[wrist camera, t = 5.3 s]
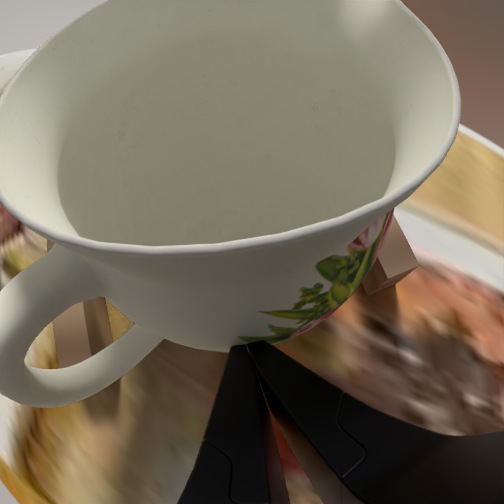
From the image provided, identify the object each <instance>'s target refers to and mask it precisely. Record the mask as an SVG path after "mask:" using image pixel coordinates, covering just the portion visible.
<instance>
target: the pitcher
mask: <svg viewBox="0 0 504 504" xmlns="http://www.w3.org/2000/svg"><path fill="white" fill-rule="evenodd" d="M460 118H461V96H460V90H459V86H458V81H457V77H456V75H455V72H454V69H453V67H452V64H451V62H450V60H449V58H448V56H447V55H446V53H445V51H444V50H443V48H442V46H441V45H440V43H439V42H438V41H437V39H436V38H435V37H434V35H433V34H432V33H431V32H430V30H429V29H428V28H427V27H426V26H425V25H424V24H423V23H422V22H421V21H420V20H419V19H418V18H417V17H416V16H415V15H414V14H413V13H412V12H411V11H410V10H409V9H408V8H407V7H406V6H405V5H404V4H403V3H402V2H401V1H400V0H107V1H105V2H103V3H101V4H100V5H98V6H96V7H94V8H92V9H91V10H89V11H87V12H86V13H84V14H82V15H81V16H79V17H77V18H76V19H75V20H73V21H71V22H70V23H69V24H67V25H66V26H64V27H63V28H62V29H60V30H59V31H58V32H56V33H55V34H54V35H53V36H51V37H50V38H49V39H48V40H47V41H46V42H44V43H43V44H42V45H41V46H40V47H39V48H38V49H37V50H36V51H35V52H34V53H33V54H32V55H31V56H30V57H29V58H28V59H27V60H26V61H25V62H24V64H23V65H22V66H21V67H20V68H19V70H18V71H17V72H16V73H15V75H14V76H13V78H12V79H11V80H10V82H9V83H8V85H7V86H6V88H5V90H4V91H3V93H2V95H1V96H0V202H1V203H2V205H3V206H4V207H5V209H7V210H8V211H9V212H10V213H11V214H12V215H13V216H15V217H16V218H17V219H18V220H19V221H21V222H22V223H23V224H24V225H25V226H27V227H28V228H29V229H31V230H32V231H34V232H36V233H37V234H39V235H40V236H42V237H44V238H46V239H48V240H50V241H52V242H54V243H55V244H54V245H53V247H52V248H51V249H50V250H49V251H48V252H47V254H46V255H45V256H43V257H42V258H40V259H39V260H38V261H36V262H35V263H33V264H32V265H30V266H29V267H27V268H26V269H24V270H23V271H22V272H20V273H19V274H18V275H17V276H15V277H14V278H13V279H12V280H11V281H10V282H9V283H8V284H7V285H6V286H5V287H4V288H3V289H2V290H1V291H0V393H1V394H2V395H4V396H6V397H8V398H9V399H11V400H13V401H15V402H18V403H20V404H23V405H27V406H32V407H58V406H65V405H69V404H72V403H75V402H78V401H81V400H84V399H86V398H88V397H90V396H92V395H94V394H96V393H97V392H99V391H101V390H103V389H104V388H106V387H107V386H109V385H110V384H112V383H113V382H115V381H116V380H118V379H119V378H120V377H122V376H123V375H124V374H126V373H127V372H128V371H130V370H131V369H132V368H133V367H134V366H136V365H137V364H138V363H139V362H140V361H141V360H142V359H143V358H145V357H146V356H147V355H148V354H149V353H150V352H151V351H152V350H153V349H154V348H155V347H156V346H157V345H158V344H159V343H160V342H161V341H162V340H163V339H164V338H165V339H167V340H169V341H171V342H174V343H177V344H180V345H184V346H188V347H191V348H195V349H201V350H209V351H217V352H229V350H230V348H231V347H232V346H235V345H243V344H246V346H247V344H248V343H252V342H257V341H262V340H265V341H267V342H268V343H270V344H271V345H276V344H279V343H282V342H285V341H288V340H290V339H292V338H294V337H296V336H298V335H300V334H302V333H304V332H306V331H308V330H310V329H312V328H313V327H315V326H316V325H317V324H319V323H320V322H322V321H323V320H325V319H326V318H328V317H329V316H330V315H331V314H332V313H333V312H335V311H336V310H337V309H338V308H339V307H340V306H341V305H342V304H343V303H344V302H345V301H346V300H347V299H348V298H349V297H350V296H351V295H352V294H353V293H354V291H355V290H356V289H357V287H358V286H359V285H360V283H361V282H362V281H363V279H364V278H365V277H366V275H367V274H368V272H369V271H370V270H371V268H372V266H373V264H374V262H375V260H376V258H377V257H378V255H379V253H380V251H381V249H382V246H383V244H384V241H385V239H386V236H387V233H388V230H389V227H390V224H391V220H392V217H393V212H394V207H396V206H397V205H399V204H400V203H401V202H403V201H404V200H406V199H407V198H408V197H409V196H410V195H411V194H412V193H413V192H414V191H415V190H416V189H417V188H418V187H419V186H420V185H421V184H422V183H423V182H424V181H425V180H426V179H427V178H428V177H429V176H430V175H431V174H432V173H433V172H434V171H435V170H436V168H437V167H438V166H439V165H440V164H441V163H442V161H443V160H444V158H445V156H446V155H447V153H448V151H449V149H450V147H451V146H452V144H453V142H454V140H455V138H456V134H457V130H458V126H459V123H460ZM98 297H105V298H106V299H107V300H108V301H109V302H110V303H112V304H113V305H114V306H115V307H116V308H117V309H118V310H119V311H120V312H121V313H123V314H124V315H125V316H126V317H128V318H129V319H131V320H132V321H134V322H135V325H133V326H132V327H131V328H130V329H129V330H128V331H127V332H126V333H125V334H123V335H122V336H121V337H120V338H119V339H117V340H116V341H115V342H113V343H112V344H111V345H109V346H108V347H106V348H105V349H103V350H101V351H100V352H98V353H97V354H95V355H93V356H92V357H90V358H88V359H86V360H84V361H82V362H81V363H78V364H75V365H73V366H70V367H66V368H61V369H39V368H33V367H31V366H29V365H27V364H26V363H24V358H25V356H26V353H27V351H28V349H29V347H30V345H31V344H32V343H33V341H34V340H35V338H36V337H37V336H38V335H39V333H40V332H41V331H42V330H43V329H44V328H45V327H46V326H47V325H48V324H49V323H50V322H51V321H53V320H54V319H55V318H56V317H57V316H59V315H60V314H61V313H63V312H64V311H65V310H67V309H68V308H70V307H71V306H73V305H74V304H77V303H80V302H83V301H87V300H90V299H94V298H98ZM247 349H248V347H247ZM248 351H249V350H248Z"/></svg>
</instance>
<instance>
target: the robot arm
mask: <svg viewBox="0 0 504 504" xmlns="http://www.w3.org/2000/svg"><path fill="white" fill-rule="evenodd" d="M247 347H248V349H247ZM248 350H249V352H248ZM249 353H250V354H249ZM250 356H251V357H250ZM251 359H252V360H251ZM257 376H258V377H257ZM258 379H259V380H258ZM259 382H260V383H259ZM260 385H261V386H260ZM261 387H262V389H261ZM262 390H263V392H262ZM263 393H264V395H263ZM264 396H265V398H266V400H265V398H264ZM266 401H267V403H266ZM267 404H268V406H269V409H270V411H271V413H272V415H273V417H274V419H275V421H276V423H277V425H278V427H279V428H280V430H281V432H282V434H283V436H284V437H285V439H286V441H287V443H288V444H289V446H290V448H291V450H292V451H293V453H294V455H295V457H296V458H297V460H298V462H299V463H300V465H301V467H302V469H303V470H304V472H305V474H306V475H307V477H308V479H309V480H310V482H311V484H312V485H313V487H314V489H315V490H316V492H317V493H318V495H319V497H320V498H321V500H322V502H323V503H324V504H504V430H501V431H495V432H488V433H481V434H474V435H465V436H453V435H446V434H441V433H437V432H434V431H431V430H428V429H426V428H423V427H420V426H418V425H415V424H412V423H410V422H407V421H404V420H402V419H399V418H397V417H394V416H392V415H389V414H387V413H385V412H382V411H380V410H378V409H376V408H373V407H372V406H370V405H368V404H366V403H364V402H362V401H360V400H359V399H357V398H355V397H353V396H352V395H350V394H349V393H347V392H345V393H344V391H343V390H342V389H340V388H338V387H337V386H335V385H334V384H332V383H330V382H329V381H327V380H325V379H324V378H322V377H321V376H319V375H317V374H316V373H314V372H313V371H311V370H310V369H308V368H306V367H305V366H303V365H302V364H300V363H299V362H297V361H296V360H294V359H293V358H291V357H289V356H288V355H286V354H285V353H283V352H282V351H280V350H279V349H277V348H276V347H274V346H273V345H271V344H270V343H268V342H267V341H265V340H262V341H257V342H252V343H248V344H247V346H246V344H243V345H235V346H232V347H231V348H230V350H229V354H228V357H227V360H226V364H225V367H224V370H223V374H222V377H221V380H220V384H219V387H218V390H217V394H216V397H215V400H214V404H213V407H212V410H211V414H210V417H209V420H208V424H207V427H206V430H205V434H204V437H203V439H204V440H203V441H202V443H201V446H200V450H199V453H198V456H197V459H196V462H195V465H194V467H193V470H192V472H191V475H190V477H189V479H188V482H187V484H186V486H185V488H184V490H183V492H182V494H181V497H180V499H179V501H178V503H177V504H290V500H289V496H288V491H287V487H286V483H285V478H284V474H283V469H282V465H281V460H280V456H279V452H278V447H277V443H276V438H275V433H274V429H273V424H272V420H271V416H270V412H269V409H268V406H267Z"/></svg>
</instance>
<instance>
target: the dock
mask: <svg viewBox="0 0 504 504" xmlns="http://www.w3.org/2000/svg"><path fill="white" fill-rule="evenodd" d="M54 244H55V243H54V242H52V241H50V240H48V239H47V252H48V251H49V250H50V249H51V248H52V247H53V245H54ZM418 266H419V264H418V262H417V260H416V258H415V255H414V253H413V251H412V249H411V247H410V245H409V243H408V241H407V239H406V237H405V235H404V234H403V232H402V230H401V228H400V226H399V224H398V222H397V220H396V218H395V217H394V215H393V217H392V220H391V224H390V227H389V230H388V233H387V236H386V239H385V241H384V244H383V246H382V249H381V251H380V253H379V255H378V257H377V258H376V260H375V262H374V264H373V266H372V268H371V270H370V271H369V272H368V274H367V275H366V277H365V278H364V279H363V281H362V282H361V283H362V285H363V287H364V290H365V292H366V294H367V296H369V295H371V294H373V293H376V292H378V291H381V290H383V289H385V288H388V287H390V286H392V285H395V284H396V283H398V282H399V281H400V280H402V279H403V278H404V277H405V276H407V275H408V274H409V273H411V272H412V271H413V270H414V269H416V268H417V267H418ZM52 323H53V331H54V338H55V344H56V350H57V356H58V362H59V367H60V369H61V368H66V367H70V366H73V365H75V364H78V363H81V362H82V361H84V360H86V359H88V358H90V357H92V356H93V355H95V354H97V353H98V352H100V351H101V350H103V349H105V348H106V347H108V346H109V345H111V344H112V343H113V338H112V334H111V329H110V323H109V318H108V313H107V307H106V301H105V297H98V298H94V299H90V300H87V301H83V302H80V303H77V304H74V305H73V306H71V307H70V308H68V309H67V310H65V311H64V312H63V313H61V314H60V315H59V316H57V317H56V318H55V319H54V320H53V321H52Z"/></svg>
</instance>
